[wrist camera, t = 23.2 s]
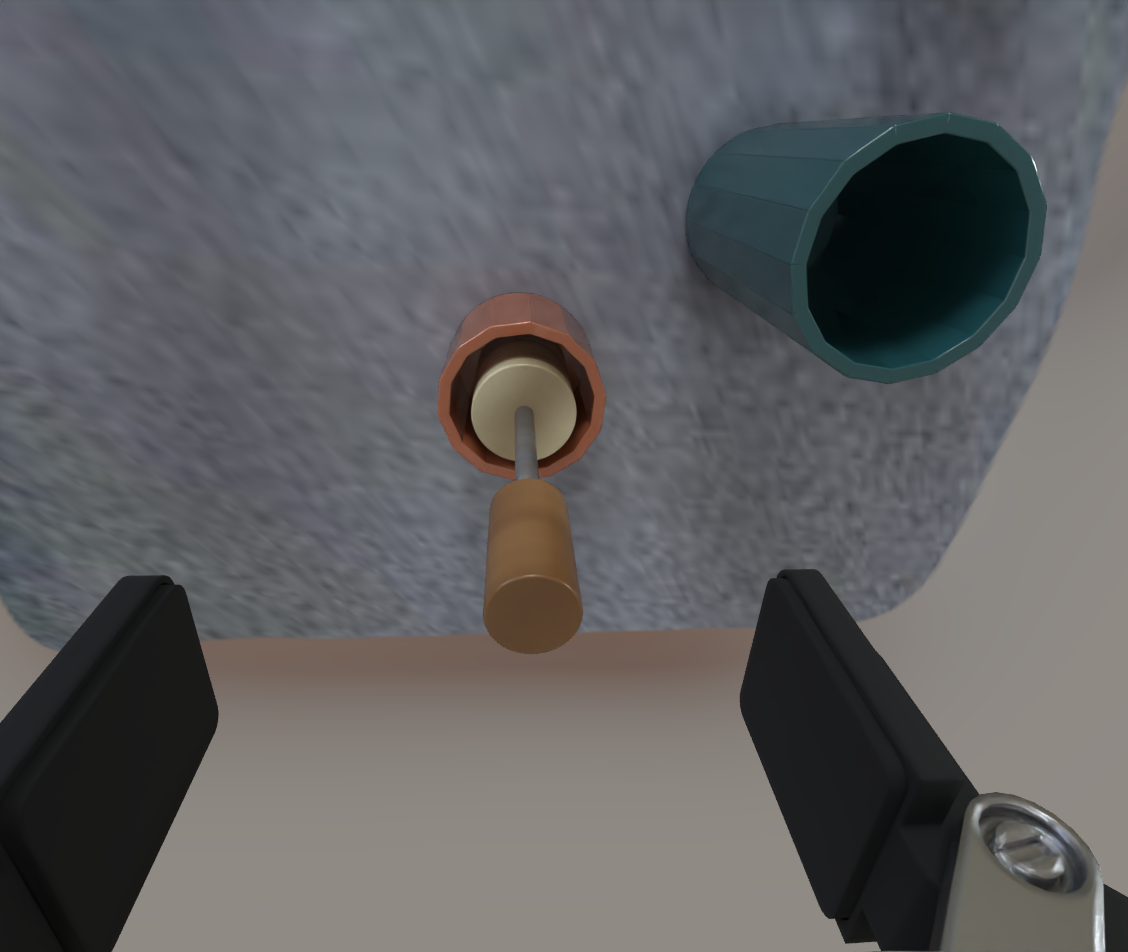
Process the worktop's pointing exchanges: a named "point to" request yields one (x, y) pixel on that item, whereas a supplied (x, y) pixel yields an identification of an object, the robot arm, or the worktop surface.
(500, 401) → the brush
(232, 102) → the worktop surface
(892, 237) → the cup
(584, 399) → the cup
